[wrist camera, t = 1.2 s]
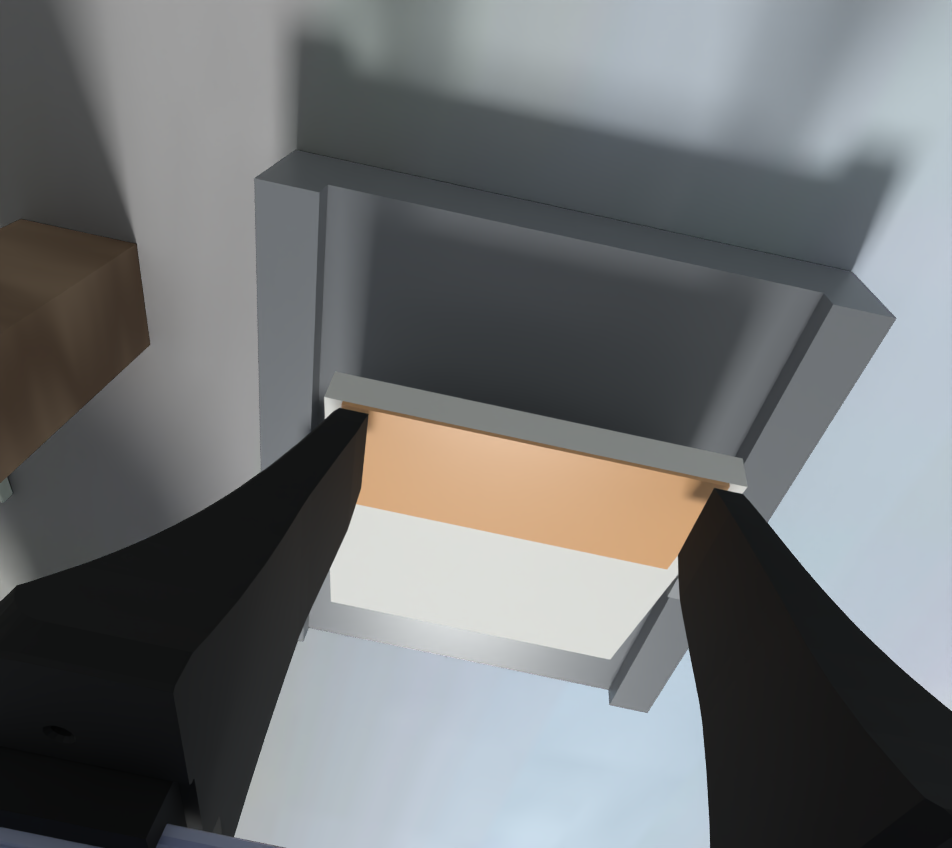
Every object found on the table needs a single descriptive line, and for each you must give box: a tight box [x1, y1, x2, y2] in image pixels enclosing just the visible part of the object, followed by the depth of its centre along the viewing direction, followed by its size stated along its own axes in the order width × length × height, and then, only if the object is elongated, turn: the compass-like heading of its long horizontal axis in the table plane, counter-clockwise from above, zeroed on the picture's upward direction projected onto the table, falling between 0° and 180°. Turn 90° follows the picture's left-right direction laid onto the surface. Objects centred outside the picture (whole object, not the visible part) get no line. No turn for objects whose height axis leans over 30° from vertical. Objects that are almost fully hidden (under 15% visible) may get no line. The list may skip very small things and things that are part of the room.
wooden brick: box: [0, 219, 150, 483], centre depth 16 cm, size 3×3×7 cm
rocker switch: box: [324, 372, 747, 660], centre depth 17 cm, size 10×9×1 cm
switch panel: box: [254, 150, 896, 713], centre depth 19 cm, size 16×14×4 cm
